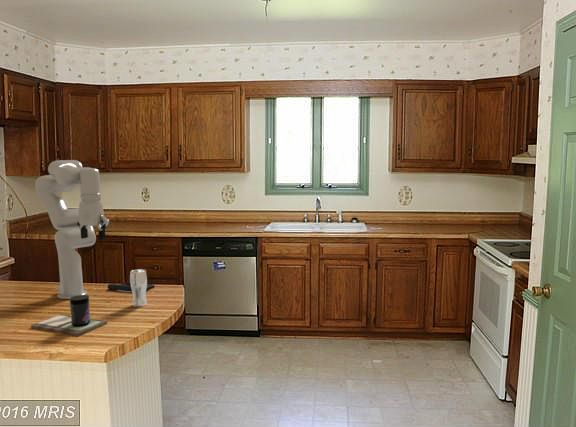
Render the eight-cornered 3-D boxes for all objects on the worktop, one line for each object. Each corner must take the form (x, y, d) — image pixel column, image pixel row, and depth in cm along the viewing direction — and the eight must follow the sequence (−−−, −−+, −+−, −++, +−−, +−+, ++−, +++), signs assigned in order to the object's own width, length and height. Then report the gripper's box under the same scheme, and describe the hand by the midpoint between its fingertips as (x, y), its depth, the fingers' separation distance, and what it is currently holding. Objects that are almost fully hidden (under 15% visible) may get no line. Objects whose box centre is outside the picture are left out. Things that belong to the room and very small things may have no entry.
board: (31, 327, 185) (30, 324, 185) (61, 316, 198) (60, 313, 197) (79, 336, 176) (78, 332, 175) (107, 323, 188) (106, 320, 188)
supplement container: (81, 328, 180) (79, 300, 179) (67, 326, 182) (65, 299, 181) (94, 322, 186) (92, 295, 185) (81, 320, 189) (79, 294, 187)
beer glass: (149, 301, 215) (148, 268, 214) (145, 306, 209) (144, 272, 207) (134, 302, 215) (132, 269, 213) (129, 307, 208) (127, 273, 206)
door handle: (127, 278, 249) (105, 284, 234) (160, 281, 242) (139, 288, 227) (127, 284, 250) (105, 291, 235) (160, 288, 243) (139, 295, 228)
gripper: (68, 198, 202) (70, 238, 204) (100, 199, 195) (102, 241, 197) (82, 196, 209) (84, 236, 211) (113, 198, 202) (115, 238, 204)
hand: (93, 238), depth 204 cm, fingers open, 9 cm apart
